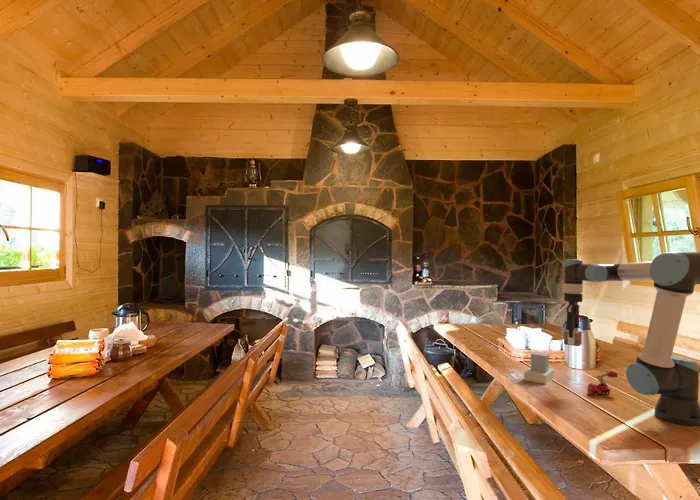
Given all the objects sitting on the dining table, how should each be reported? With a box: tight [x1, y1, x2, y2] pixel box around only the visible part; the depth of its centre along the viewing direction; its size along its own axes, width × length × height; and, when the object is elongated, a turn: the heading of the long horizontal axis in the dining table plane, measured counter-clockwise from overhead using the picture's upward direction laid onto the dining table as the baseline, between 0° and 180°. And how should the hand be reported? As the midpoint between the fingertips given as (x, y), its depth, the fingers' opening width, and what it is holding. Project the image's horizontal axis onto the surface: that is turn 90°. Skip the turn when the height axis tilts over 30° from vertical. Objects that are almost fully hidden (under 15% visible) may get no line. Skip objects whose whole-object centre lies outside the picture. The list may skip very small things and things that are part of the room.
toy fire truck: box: [587, 370, 618, 396], centre depth 199 cm, size 3×14×10 cm, turn 105°
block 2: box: [563, 329, 583, 347], centre depth 205 cm, size 6×6×6 cm
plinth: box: [523, 367, 555, 385], centre depth 220 cm, size 14×10×4 cm
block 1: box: [530, 351, 550, 373], centre depth 220 cm, size 5×7×8 cm
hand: (572, 343), depth 205 cm, fingers closed on block 2, 6 cm apart
